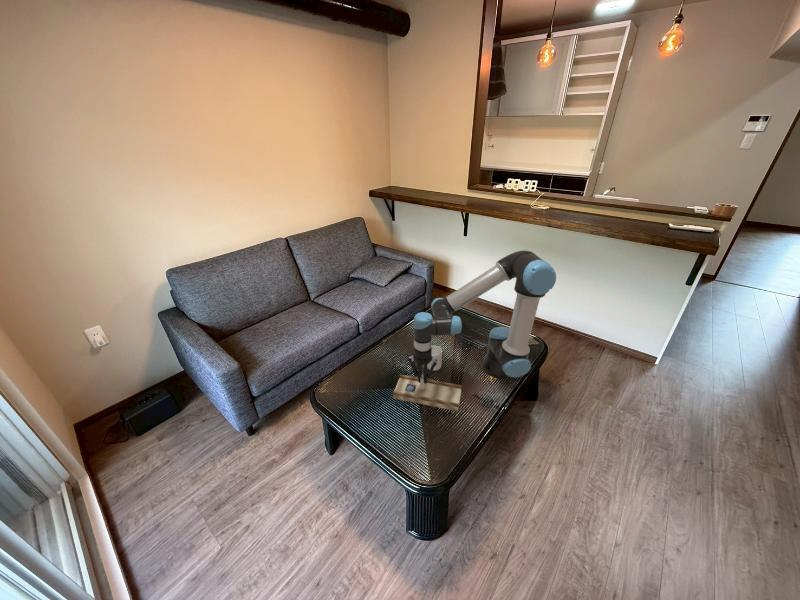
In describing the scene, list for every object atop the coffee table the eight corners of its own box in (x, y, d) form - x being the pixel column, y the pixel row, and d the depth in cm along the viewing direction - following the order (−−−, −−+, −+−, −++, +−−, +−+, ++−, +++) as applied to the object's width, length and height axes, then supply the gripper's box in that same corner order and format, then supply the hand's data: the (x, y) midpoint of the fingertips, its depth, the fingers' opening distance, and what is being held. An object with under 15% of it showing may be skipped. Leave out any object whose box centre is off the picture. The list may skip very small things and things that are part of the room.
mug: (428, 377, 152) (429, 361, 147) (417, 369, 157) (417, 353, 152) (444, 366, 159) (445, 350, 154) (433, 358, 164) (433, 343, 159)
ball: (406, 387, 145) (412, 391, 145) (404, 392, 142) (410, 396, 142) (409, 382, 143) (415, 386, 143) (407, 387, 140) (413, 391, 140)
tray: (461, 391, 143) (461, 385, 141) (458, 411, 133) (458, 404, 131) (400, 380, 151) (399, 374, 149) (393, 398, 141) (392, 392, 139)
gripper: (439, 343, 130) (438, 384, 142) (410, 339, 134) (411, 379, 145) (436, 354, 124) (435, 396, 135) (405, 349, 127) (406, 390, 139)
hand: (422, 387), depth 140 cm, fingers closed
